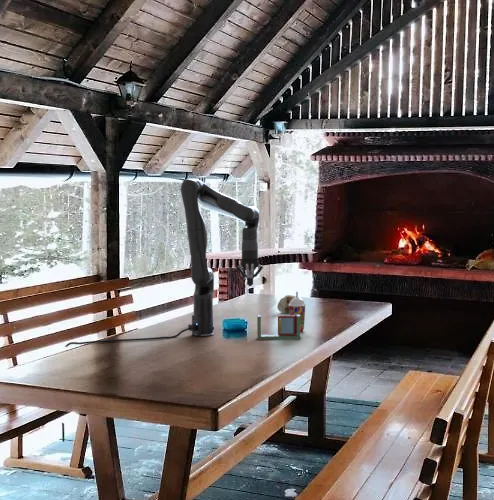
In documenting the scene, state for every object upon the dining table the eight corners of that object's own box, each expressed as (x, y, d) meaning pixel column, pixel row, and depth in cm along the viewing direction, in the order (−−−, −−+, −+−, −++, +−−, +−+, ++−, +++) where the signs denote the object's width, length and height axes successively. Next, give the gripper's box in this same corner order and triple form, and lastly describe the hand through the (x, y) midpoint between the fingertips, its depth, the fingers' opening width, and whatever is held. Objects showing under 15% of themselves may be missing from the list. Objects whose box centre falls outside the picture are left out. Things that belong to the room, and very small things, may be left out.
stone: (276, 309, 430) (276, 292, 429) (296, 309, 431) (296, 292, 430) (277, 314, 413) (277, 296, 412) (298, 314, 414) (298, 296, 413)
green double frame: (300, 339, 344) (300, 316, 343) (257, 339, 343) (257, 316, 342) (299, 337, 348) (299, 314, 347) (257, 337, 347) (257, 314, 346)
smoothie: (303, 333, 357) (303, 293, 355) (286, 333, 358) (286, 292, 357) (307, 330, 365) (306, 290, 363) (290, 330, 367) (290, 290, 365)
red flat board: (295, 336, 341) (295, 317, 340) (277, 336, 340) (277, 317, 339) (294, 335, 345) (294, 315, 344) (277, 335, 344) (277, 315, 344)
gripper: (264, 248, 346) (264, 284, 348) (236, 248, 346) (236, 285, 347) (263, 249, 339) (264, 286, 340) (235, 249, 338) (235, 287, 340)
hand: (250, 285), depth 344 cm, fingers closed
